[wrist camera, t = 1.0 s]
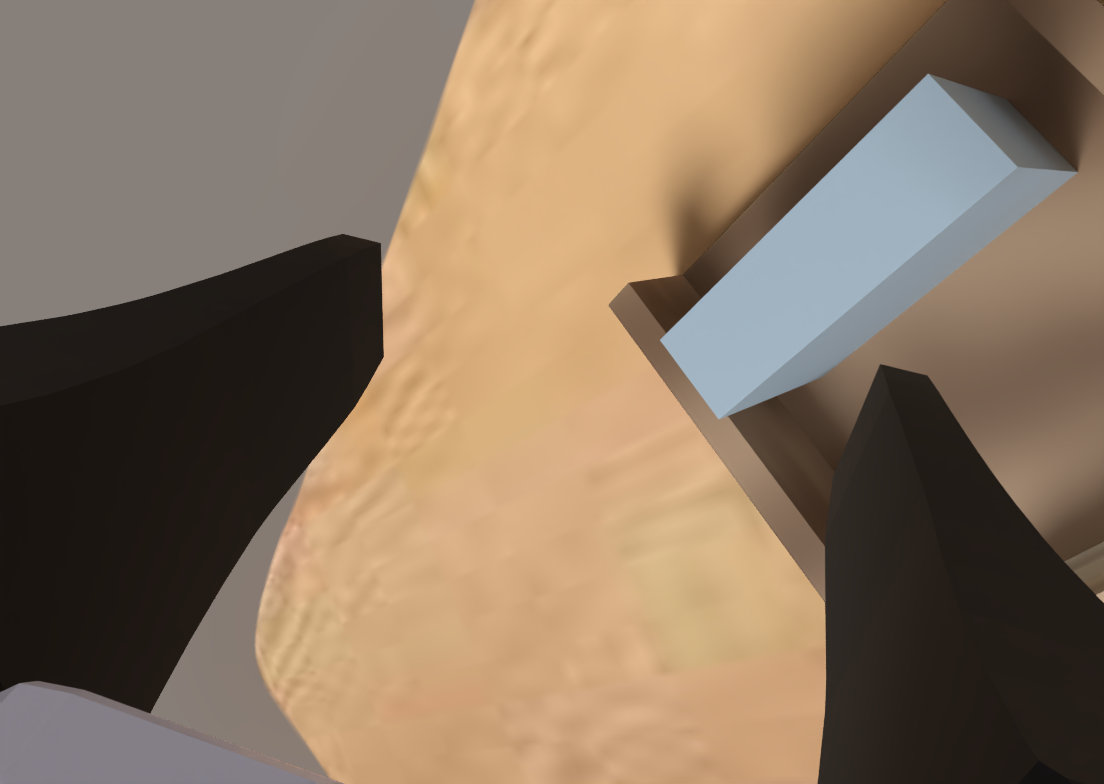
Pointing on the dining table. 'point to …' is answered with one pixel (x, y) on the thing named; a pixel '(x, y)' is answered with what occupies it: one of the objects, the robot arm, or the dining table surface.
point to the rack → (943, 296)
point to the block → (866, 243)
